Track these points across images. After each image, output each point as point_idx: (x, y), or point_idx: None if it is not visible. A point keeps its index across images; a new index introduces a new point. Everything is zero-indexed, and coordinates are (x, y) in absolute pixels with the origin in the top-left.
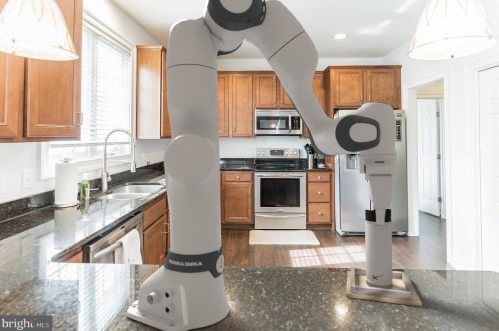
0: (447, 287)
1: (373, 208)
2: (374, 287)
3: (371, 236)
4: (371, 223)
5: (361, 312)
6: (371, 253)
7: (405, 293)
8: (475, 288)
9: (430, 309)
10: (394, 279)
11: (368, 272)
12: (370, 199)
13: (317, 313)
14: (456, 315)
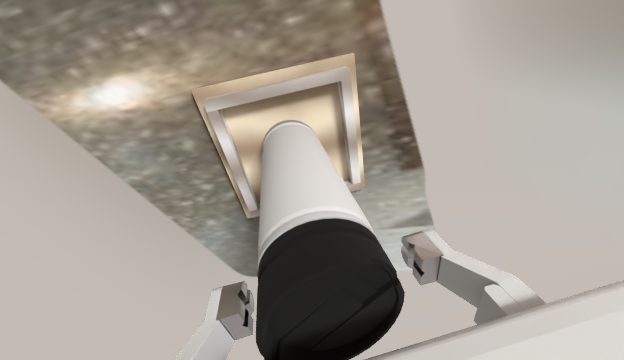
0: None
1: (454, 263)
2: (234, 152)
3: (261, 208)
4: (260, 250)
5: (143, 136)
6: (262, 174)
7: (246, 203)
8: None
9: (246, 224)
10: (338, 167)
11: (269, 140)
12: (445, 345)
13: (40, 43)
14: (247, 249)
